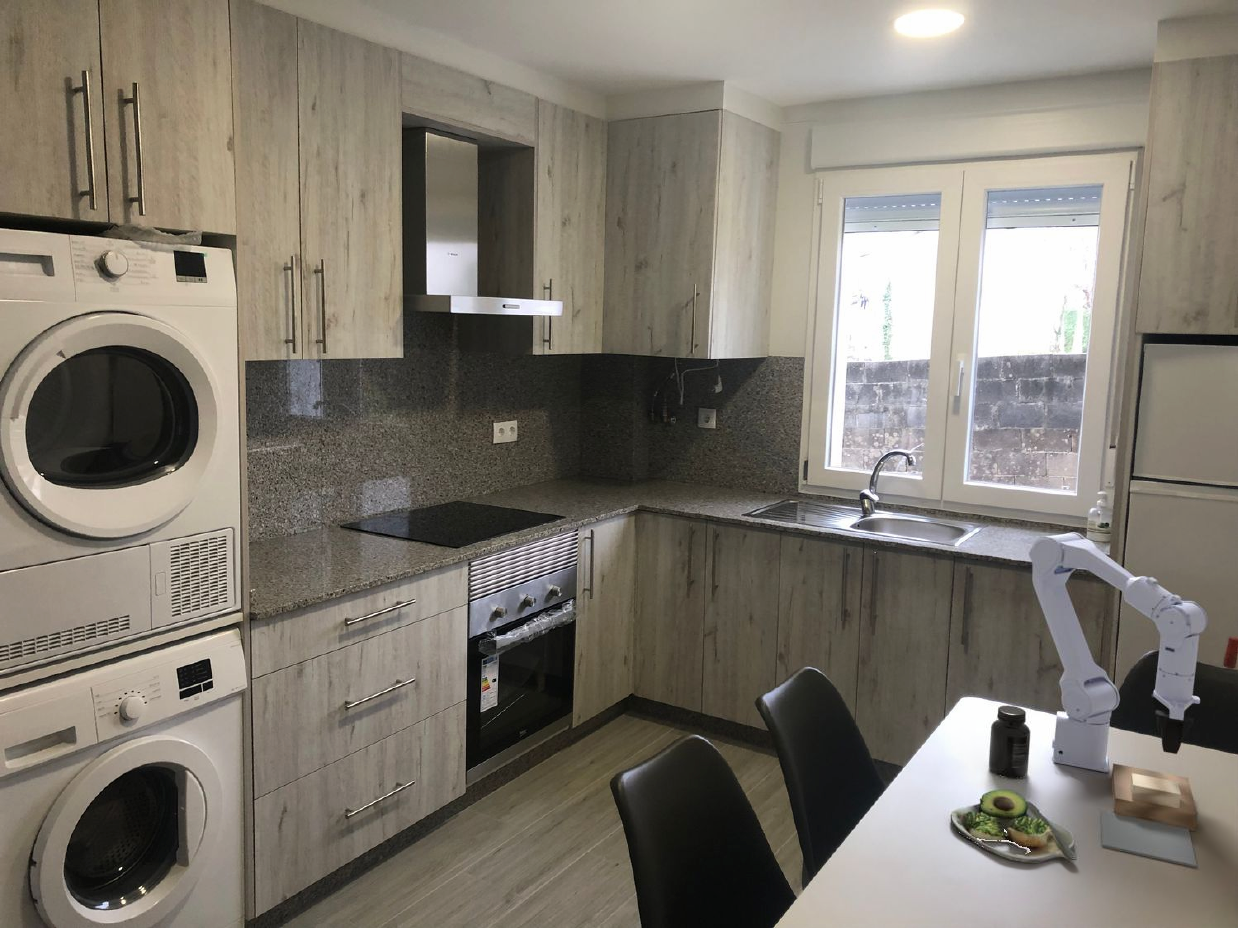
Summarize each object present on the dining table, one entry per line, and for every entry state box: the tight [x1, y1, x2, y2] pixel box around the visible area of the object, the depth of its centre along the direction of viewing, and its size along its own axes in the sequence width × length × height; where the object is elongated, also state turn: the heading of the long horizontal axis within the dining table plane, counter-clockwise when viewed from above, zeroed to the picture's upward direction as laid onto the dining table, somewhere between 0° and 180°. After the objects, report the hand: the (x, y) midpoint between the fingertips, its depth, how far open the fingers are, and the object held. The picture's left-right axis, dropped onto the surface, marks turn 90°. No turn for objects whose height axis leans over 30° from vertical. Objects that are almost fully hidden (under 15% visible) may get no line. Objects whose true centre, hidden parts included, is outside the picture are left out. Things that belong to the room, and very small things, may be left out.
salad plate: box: [950, 789, 1078, 864], centre depth 155 cm, size 19×18×5 cm
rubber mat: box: [1100, 810, 1197, 868], centre depth 155 cm, size 13×12×1 cm
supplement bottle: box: [988, 705, 1031, 780], centre depth 178 cm, size 7×7×12 cm
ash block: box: [1131, 773, 1181, 808], centre depth 163 cm, size 7×5×2 cm
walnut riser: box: [1111, 763, 1198, 832], centre depth 167 cm, size 12×15×3 cm
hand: (1167, 743), depth 170 cm, fingers open, 7 cm apart
